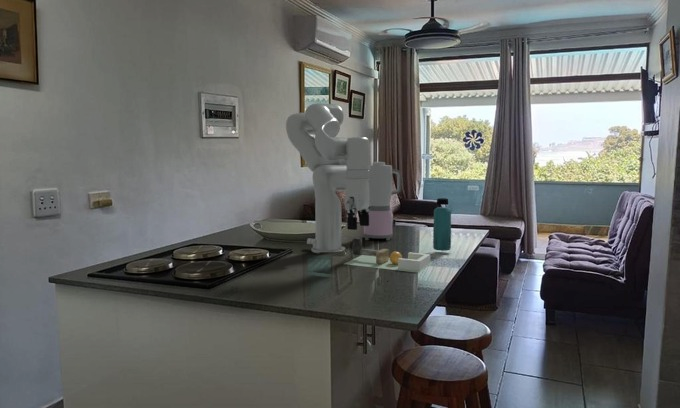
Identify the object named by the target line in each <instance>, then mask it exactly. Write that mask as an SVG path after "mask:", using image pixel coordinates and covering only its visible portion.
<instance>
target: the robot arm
mask: <svg viewBox="0 0 680 408" xmlns="http://www.w3.org/2000/svg"><path fill="white" fill-rule="evenodd" d="M344 116H345V115H344V111H343V109H342V107H340V106H339V105H338V104H333V103H321V102H320V103H312V104H310V105H308V106H307V107H306V109H305V111H304V112H295V113H292V114H291V115H289V116H288V117H287V119H286V122H285V129H286V135H287V137H288V139H289V141H290V143H291V144H292V146H293V147H294V148H295V149H296V150H297V151H298V153H299V154H300V155H301V158H302V160H303V161H304V162H305V164H306V166H307V168H308V169H309V170H310V172H312V184H313V190H314V202H315V204H314V205H315V207H314V208H315V238H310V237H309V238H307V239H306V244H307V245H311V246H312V247H311V252H312V253H314V254H320V253H338V252H343V251H345V250H346V247H345V246H343V245H342V210H343V209H342V202H341V199H340V197H339V196H338V194H337V193H336V192H345V195H344V209H345V213H346V222H347V225H346V226H347V230H350V231H351V230H354V231H356V230H357V229H358V216H357V214H358V212H360V213H359V226H361V227H364V226H369V213H370V211H369V209H370V197H369V182H368V180H370V170H369V169H370V165H371V164H370V163H371V162H370V140H369V138H367V137H365V136H360V137H359V136H353V137H344V136H343V137H340V136H338V134H339V133H340V131H341V125H342V124H343V122H344ZM313 135H314V136H313Z"/></svg>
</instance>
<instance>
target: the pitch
mask: <svg viewBox="0 0 680 408" xmlns="http://www.w3.org/2000/svg"><path fill="white" fill-rule="evenodd" d="M433 263H434V262H432V261H430V264H429V265H428V266H426V267H425V268H423V269H422V270H421V271H415V270H406V269H398V264H393V263H392V262H391V261H390V257H389V260H388V261H386V262H384V263H383V264H379V263H376V255H368V254H361V255H358V256H356V257H355V258H353V259H351V260H349V261H348V262H347V261H346V262H344V263H343V265H350V266H357V267H364V268H365V267H366V268H375V269H384V270H392V271H400V272H407V273H408V272H409V273H418V274H419V273H421V272H422V271H423V270H425V269H427V267H429V266H430V265H431V264H433Z"/></svg>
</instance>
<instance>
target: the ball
mask: <svg viewBox="0 0 680 408" xmlns="http://www.w3.org/2000/svg"><path fill="white" fill-rule="evenodd" d="M389 258H390V261H391V262H392V263H393V264H398V259H399V258H403V255H402V254H401V252H399V251H392V252H391V253H389Z"/></svg>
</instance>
